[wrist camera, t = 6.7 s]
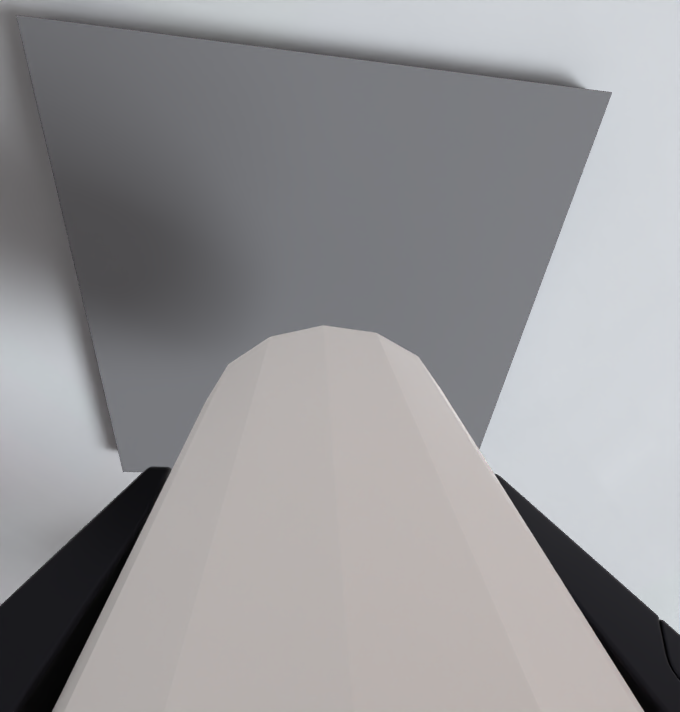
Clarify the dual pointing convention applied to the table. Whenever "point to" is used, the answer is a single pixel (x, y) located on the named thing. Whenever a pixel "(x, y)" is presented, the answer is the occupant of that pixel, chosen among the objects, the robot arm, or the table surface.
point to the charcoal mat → (295, 210)
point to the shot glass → (337, 559)
